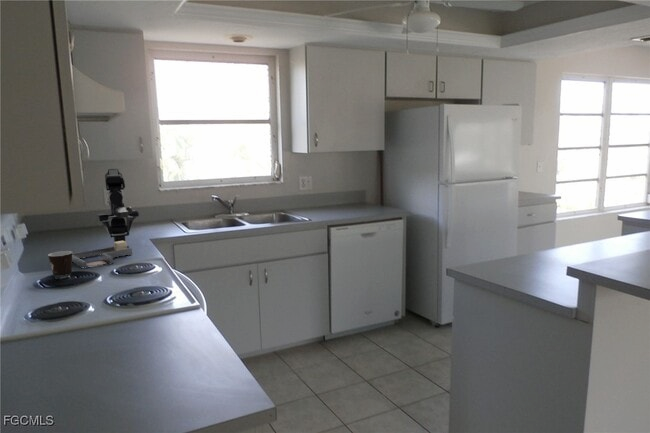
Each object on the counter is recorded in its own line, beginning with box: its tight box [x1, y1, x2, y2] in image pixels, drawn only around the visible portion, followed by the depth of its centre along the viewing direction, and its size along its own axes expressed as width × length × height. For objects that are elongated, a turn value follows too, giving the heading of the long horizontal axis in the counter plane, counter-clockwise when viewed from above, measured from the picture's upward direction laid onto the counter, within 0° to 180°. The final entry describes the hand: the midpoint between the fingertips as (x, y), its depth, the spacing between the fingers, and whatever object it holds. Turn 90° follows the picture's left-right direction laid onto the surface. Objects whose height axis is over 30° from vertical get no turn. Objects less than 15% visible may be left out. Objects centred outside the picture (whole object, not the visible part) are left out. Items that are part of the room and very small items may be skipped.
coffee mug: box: [47, 250, 73, 275], centre depth 192 cm, size 12×9×10 cm
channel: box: [72, 245, 133, 268], centre depth 222 cm, size 22×25×3 cm
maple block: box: [113, 241, 128, 251], centre depth 232 cm, size 4×4×6 cm
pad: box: [86, 260, 107, 265], centre depth 213 cm, size 7×8×1 cm
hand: (119, 232), depth 231 cm, fingers open, 9 cm apart
